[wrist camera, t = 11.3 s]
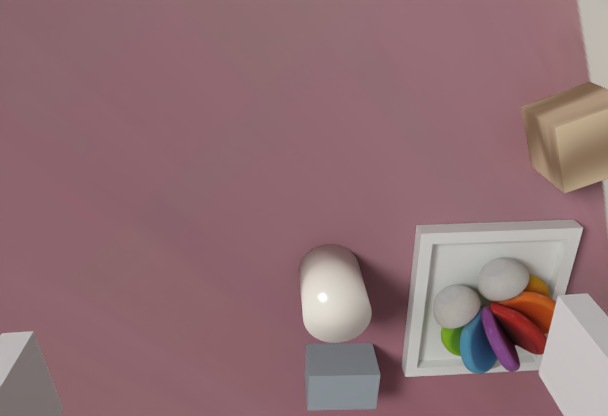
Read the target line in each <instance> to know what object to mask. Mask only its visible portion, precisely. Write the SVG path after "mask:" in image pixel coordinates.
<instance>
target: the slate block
mask: <svg viewBox="0 0 608 416" xmlns="http://www.w3.org/2000/svg"><path fill="white" fill-rule="evenodd" d="M379 382H380V371H379V367H378V363H377V359H376V356H375V352H374V348H373V344H372V343H352V344H306V362H305V387H306V399H307V410H350V409H376V404H377V397H378V390H379Z"/></svg>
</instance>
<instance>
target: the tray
mask: <svg viewBox="0 0 608 416" xmlns="http://www.w3.org/2000/svg"><path fill="white" fill-rule="evenodd" d="M582 231H583V227H582V226H581V225H580V224H578V223H577V222H576V221H575V220H547V221H519V222H491V223H463V224H434V225H417V226H416V236H415V245H414V254H413V264H412V273H411V282H410V292H409V301H408V311H407V320H406V329H405V339H404V348H403V357H402V369H403V372H404V375H405V377H413V376H433V375H452V374H472V373H473V372H471V371H469V370H468V369H467V368H466V367H465V365H464V363H463V361H462V358H461V356H457V355H454V354H452V353H450V352H449V351H448V350H447V349H446V348H445V346H444V345H443V343H442V340H441V329H442V327H441V326H440V325H439V324H438V323H437V322H436V320H435V318H434V315H433V303H434V300H435V297H436V296H437V294H438V293H439V292H440V291H441V290H442V289H444V288H446V287H448V286H451V285H463V286H466V287H469V288H471V289H472V290H474V291H476V292H477V293H478V295H479V297H480V300H481V306H482V307H484V306H488V307H489V306H490V304H491V301H490V300H488V299H486V298H485V297H483V296H482V295H481V293H480V292H479V288H478V276H479V273H480V271H481V269H482V268H483V267H484V265H485V264H487V263H488V262H489V261H491V260H494V259H497V258H510V259H514V260H516V261H518V262H520V263H521V264H522V265H523V266H525V267H526V269H527V270H528V273H529V274H532V275H535V276H537V277H539V278H540V279H542V280H543V281H544V282H545V283H546V285H547V286H548V288H549V298H551V299H553V300H554V301H557V297H558V295H565V292H566V289H567V285H568V282H569V278H570V274H571V271H572V267H573V263H574V260H575V256H576V253H577V249H578V245H579V242H580V238H581V234H582ZM515 348H516V351H517V354H518V357H519V361H520V368H519V369H518V370H516V371H530V370H540V366H541V362H542V358H543V354H542V355H536V354H533V353H530V352H528V351H526V350H524V349H522V348H521V347H519V346H517V345H515ZM491 372H510V371H508V370H506V369H505V368H504V367H503V366H502V365H500V366H499V367H496V368H493V369H490V370H489V371H487V372H485V373H491Z"/></svg>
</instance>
